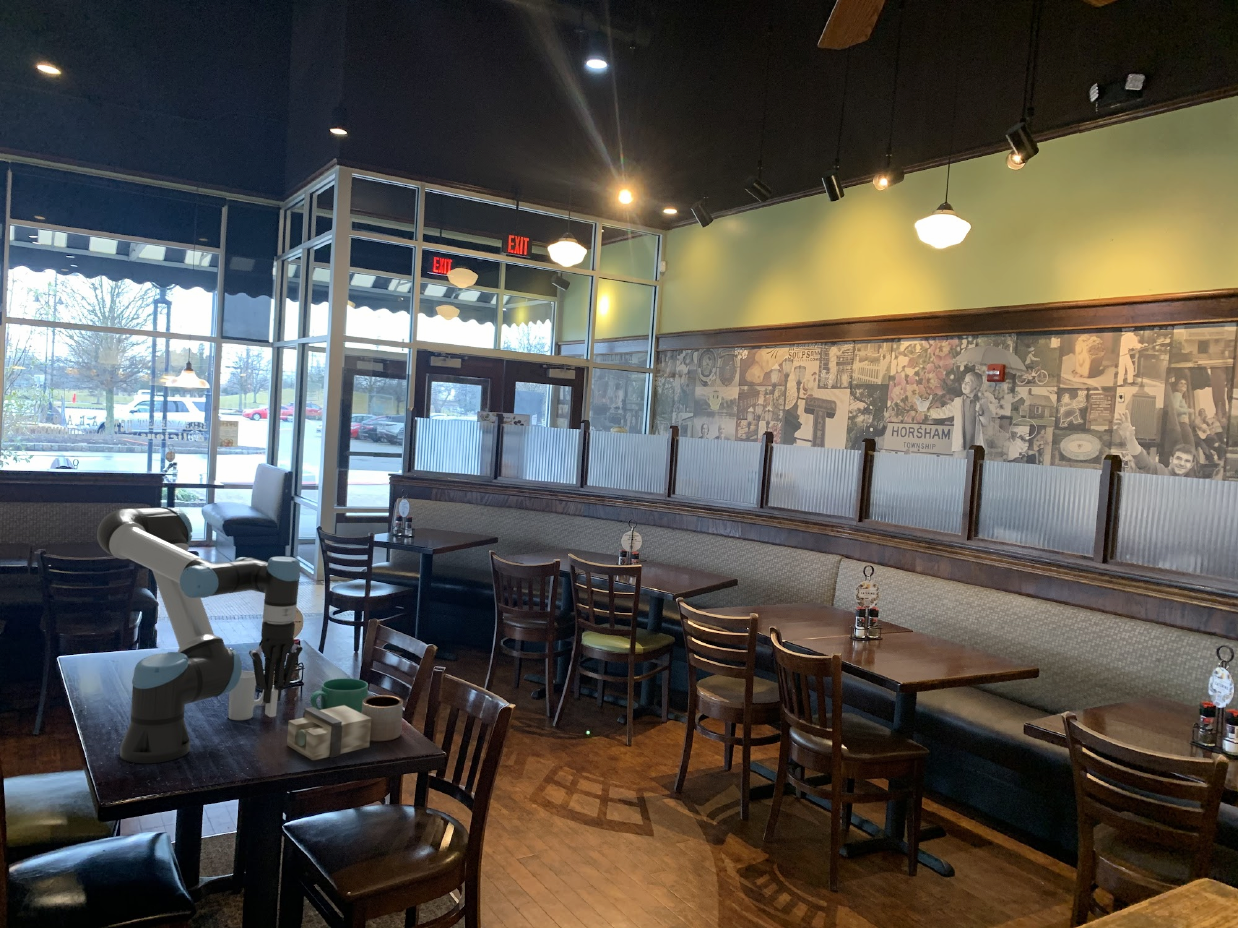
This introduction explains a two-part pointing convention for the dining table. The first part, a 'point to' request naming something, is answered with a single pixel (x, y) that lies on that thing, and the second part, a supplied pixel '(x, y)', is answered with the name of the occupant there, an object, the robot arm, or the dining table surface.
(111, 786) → the dining table surface
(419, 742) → the dining table surface
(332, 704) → the mug
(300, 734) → the dowel
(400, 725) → the planter
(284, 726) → the dining table surface
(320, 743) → the sleeve block
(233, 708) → the mug
